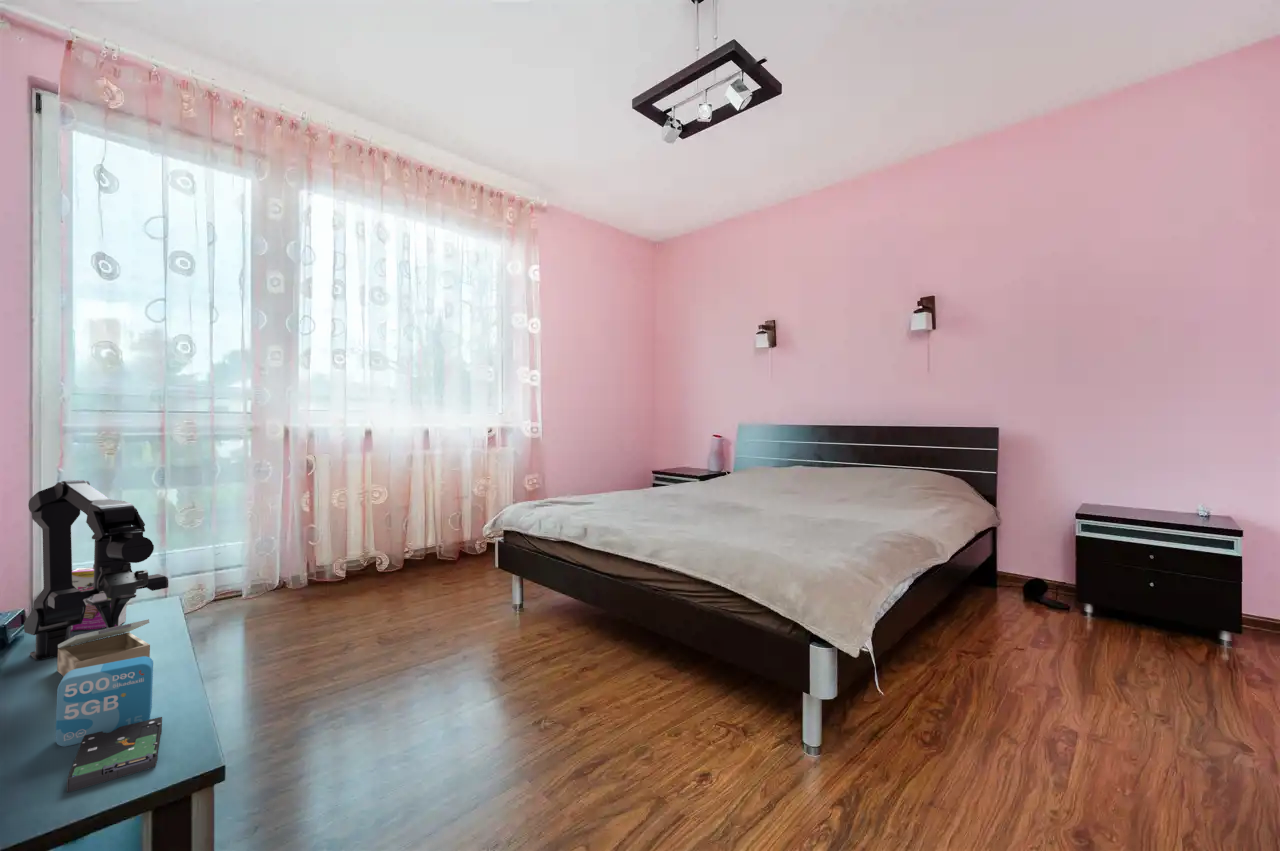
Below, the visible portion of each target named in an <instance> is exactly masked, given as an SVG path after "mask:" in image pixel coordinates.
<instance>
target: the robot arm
mask: <svg viewBox="0 0 1280 851" xmlns="http://www.w3.org/2000/svg"><path fill="white" fill-rule="evenodd" d="M28 510H29V512H30V513H31V519H32V520H33V521H34V522H35V523H36V525H38V526H39V527H40V528H41V530H42V564H43V565H42V573H43V574H42V575H43V589H42V590H41V591H40V593H39V594H38V596H37V597H36V598H35V599H34V600H33V607H32V608H33V609H32V610H31V612H30V613H29V615H28V616H27V617H26V620H25V621H24V622H23V630H24V633H25V634H29V635H32V636H35V648H34V649H35V651H31V652H29V655H30V656H31V657H32V659H34V660H35V661H41V660H45V659H49V658H54V657H58V649H59V648H58V644H60V643H62V642H64V641H66V640H68V639H70V638H72V637H71V634H72V632H71V626H73V625H77V624H82V621H83V618H84V614H85V609H86V604H85V602H86V603H88V604H90V605H94V606H95V607H96V608H97V610H98V611H99V613H100V614H101V616H102V618H103V620H104V622H105V624H106V626H107V628H106V629H108V628H112V627H114V626H115V624H116V622H117V620H118V618H119V616H120V613H121V611H122V609H123V608H124V606H125V604H126V605H127V603H128V602H129V601H130V600H131V599H135V598H136V597H137V590H141V589H148V590H150V591H151V592H152V591H158V590H163V589H168V588H169V578H168V577H167V576H165V575H161V574H160V573H155V574H150V575H149V571H148V570H147V569H140V570H136V571H134V572H133V570H132V565H131V564H134V563H135V564H138V563H141V562H144V561H146V560H147V559H149V557H151V555H152V554H153V552H154V549H155V546H154V544H153V541H152V540H151V539H150V538H148V537H145V536H144V533H145V532H146V529H145V526H146V524H145V522H144V521H143V519H142V517H141V515H140V514H139V511H138V509H137V508H136V507H135V505H134V504H132V503H131V502H127V501H125V500H119V499H117V500H116V499H111V498H109V497H107V496H106V495H105V494H103V493H102V492H100V491H99V490H97V489H96V488H94V487H93V486H92V485H91V484H90V482H89V481H88V480H84V479H78V480H76V479H75V480H62V481H59V482H57V483H55V485H53V486H51V487H47V488H45V489H43V490H39V491H37V492H36V493H35V494H34V495H33V496H32V497H30V499H28ZM81 512H83V513H84V514H85V515H86V521H85V523H86V524H87V526H88V527H89V529H91V531H92V533H93V534H92V536H91V539H92V540H94V552H93V553H94V554H93V556H94V559H93V560H94V561H93V562H94V563H93V569H94V583H93V587H94V589H90V590H85V591H80V590H77V589H76V588H75V587H74V586H73V584H72V570H73V558H72V556H73V554H72V526H73V524H74V523H75V522H76V521H77V519H78V518H79V517H80V515H81ZM103 591H104V592H103ZM108 598H111V600H109V599H108ZM83 599H87V600H85V602H84V600H83ZM110 605H111V608H110ZM66 647H68V646H66ZM62 648H63V647H62Z"/></svg>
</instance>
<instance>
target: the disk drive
mask: <svg viewBox="0 0 1280 851" xmlns="http://www.w3.org/2000/svg"><path fill="white" fill-rule="evenodd" d="M162 727H163V716H159V717H155V718H150V719H149V720H147V721H143V722H138V723H134V724H129V725H125V726H121V727H119V728H117V729H116V730H113V731H112V732H109V733H106V732H105V733H103V731H101V732H97V733H93V734H89V735H85V736H84V738H83V739H82V742H81V743H80V745H79V748H78V751H77V753H76V756H75V758H74V760H73V763H72V766H71V768H70V769H69V770H70V771H69V772H68V776H67V778H66V779H67V781H66V793H71V792H74V791H77V790H81V789H84V788H87V787H91V786H95V785H98V784H101V783H104V782H108V781H111V780H112V781H113V780H115V779H119V778H122V776H123V777H126V776H129V774H130V775H133V774H137V773H140V772H143V771H142V770H144V771H146V770H145V769H147V770H149V769H148V768H151V767H154V766H156V767H157V764H158V763H157V762H158V759H159V756H158V755H159V751H160V750H159V749H160V743H161V735H162V731H163V730H162ZM154 768H155V767H154ZM151 769H152V768H151ZM139 771H140V772H139ZM136 772H137V773H136ZM125 775H126V776H125Z"/></svg>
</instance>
